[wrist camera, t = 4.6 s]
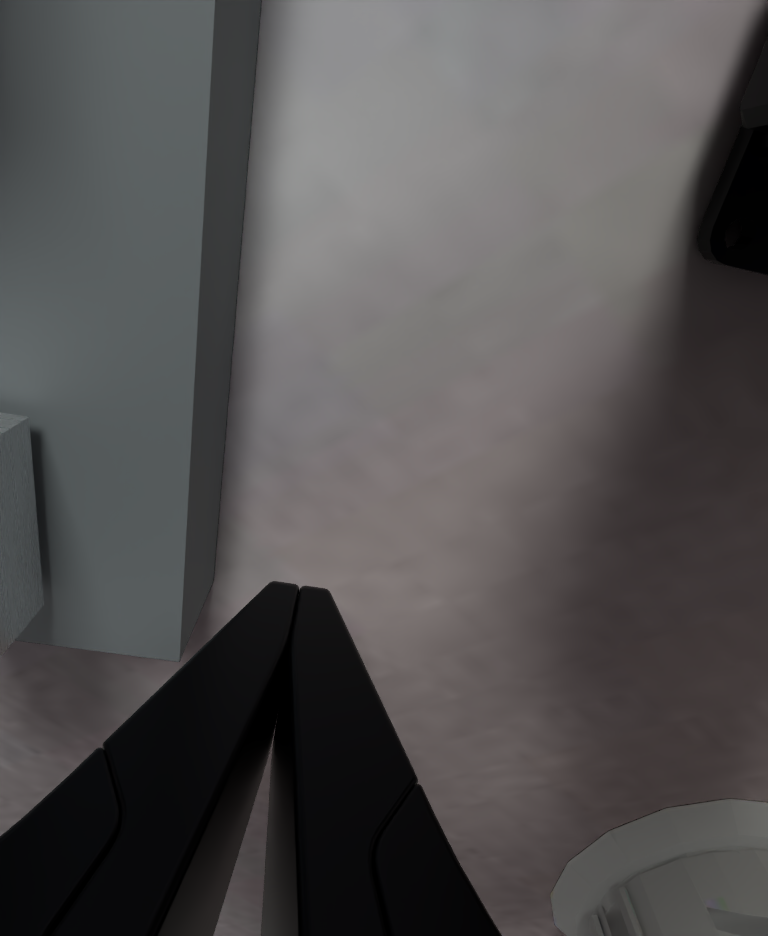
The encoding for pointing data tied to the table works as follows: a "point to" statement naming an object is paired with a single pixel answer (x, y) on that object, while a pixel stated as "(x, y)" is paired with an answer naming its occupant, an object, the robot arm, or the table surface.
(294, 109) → the table surface
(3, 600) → the grey slider
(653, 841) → the french press
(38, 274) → the panel
